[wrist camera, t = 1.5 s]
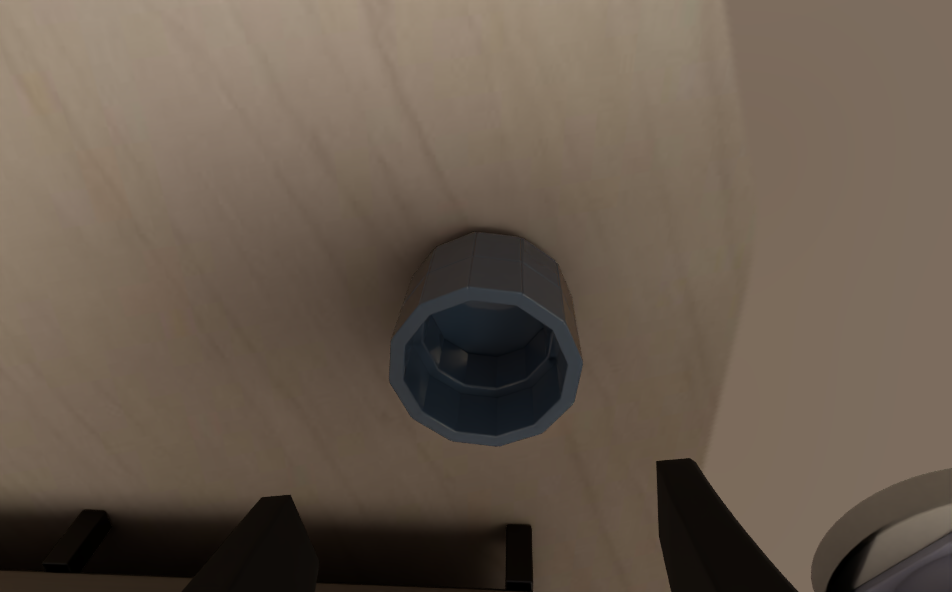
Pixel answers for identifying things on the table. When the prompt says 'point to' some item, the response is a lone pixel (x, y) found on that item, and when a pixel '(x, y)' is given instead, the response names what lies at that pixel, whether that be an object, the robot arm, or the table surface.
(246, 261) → the table surface
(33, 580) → the conveyor belt
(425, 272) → the cup
